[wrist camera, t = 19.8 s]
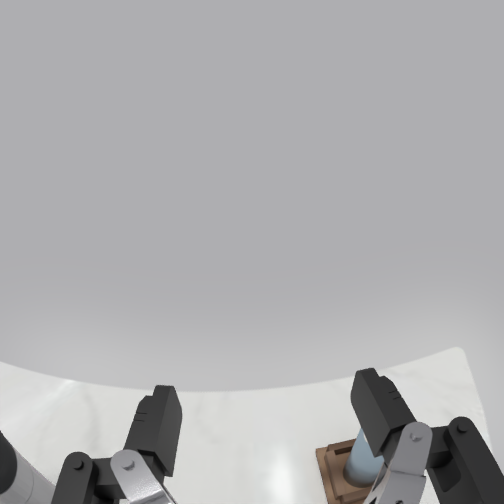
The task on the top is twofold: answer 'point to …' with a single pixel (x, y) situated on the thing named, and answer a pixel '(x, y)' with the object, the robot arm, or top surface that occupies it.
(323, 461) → the tray
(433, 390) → the top surface
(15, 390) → the top surface
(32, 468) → the robot arm
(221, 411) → the top surface
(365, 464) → the candle jar
